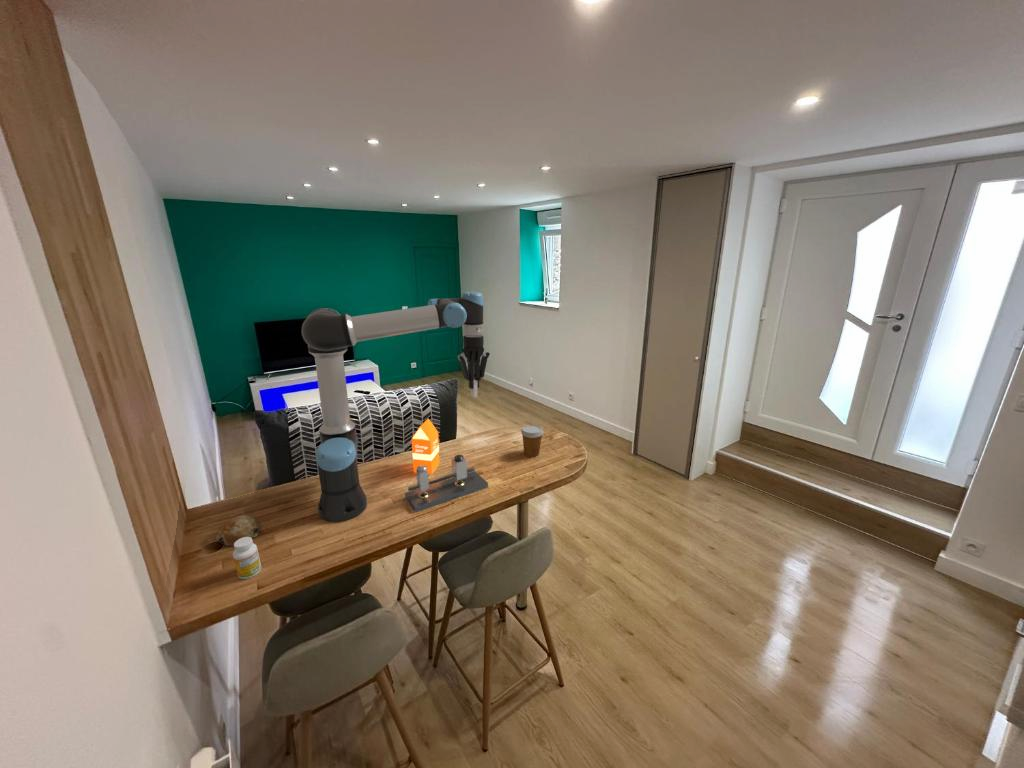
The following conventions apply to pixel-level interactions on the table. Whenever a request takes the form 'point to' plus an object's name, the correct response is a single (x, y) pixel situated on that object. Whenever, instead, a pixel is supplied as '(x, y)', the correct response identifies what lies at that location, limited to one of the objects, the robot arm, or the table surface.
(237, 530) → the bread roll
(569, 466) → the table surface
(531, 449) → the disposable coffee cup
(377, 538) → the table surface
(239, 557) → the supplement bottle
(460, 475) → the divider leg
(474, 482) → the plate
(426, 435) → the orange juice
